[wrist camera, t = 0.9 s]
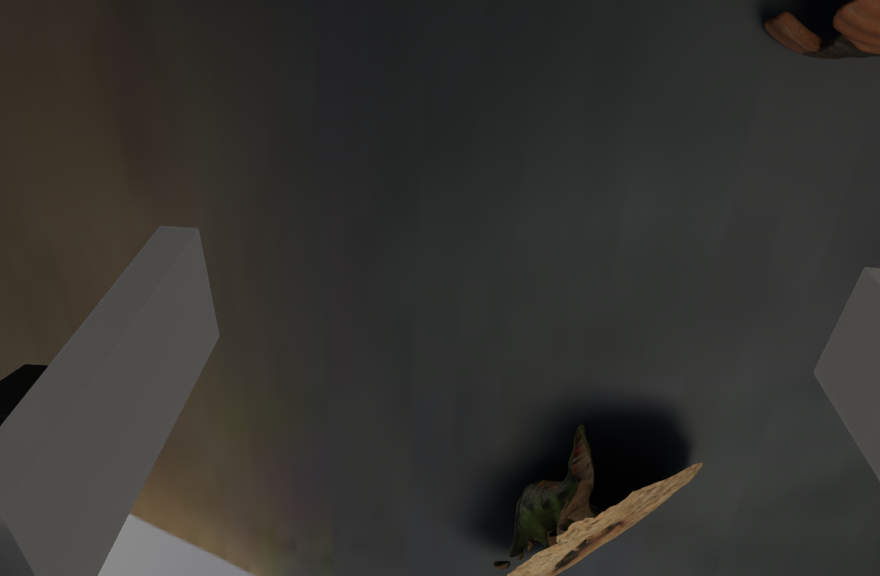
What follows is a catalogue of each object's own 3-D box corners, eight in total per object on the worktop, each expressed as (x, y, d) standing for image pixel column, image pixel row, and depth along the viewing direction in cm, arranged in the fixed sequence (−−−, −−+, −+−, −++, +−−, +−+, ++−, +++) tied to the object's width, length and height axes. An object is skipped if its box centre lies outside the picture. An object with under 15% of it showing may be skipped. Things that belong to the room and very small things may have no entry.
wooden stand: (589, 484, 55) (631, 579, 50) (428, 519, 49) (459, 629, 45) (712, 368, 42) (782, 483, 37) (509, 397, 36) (565, 536, 32)
